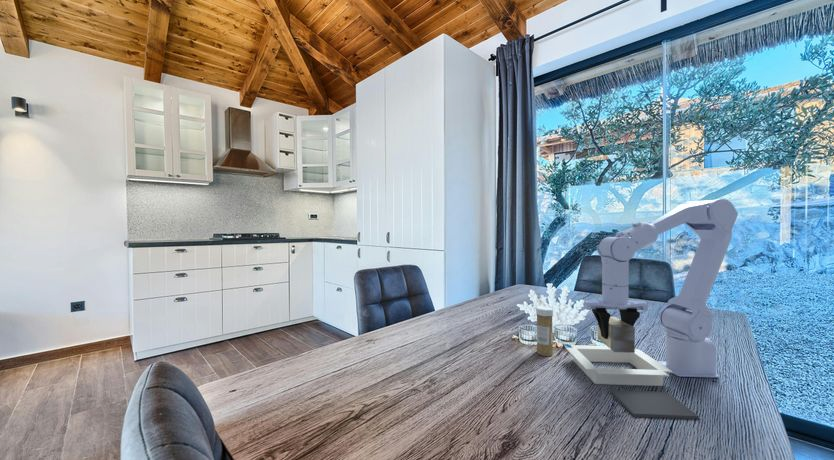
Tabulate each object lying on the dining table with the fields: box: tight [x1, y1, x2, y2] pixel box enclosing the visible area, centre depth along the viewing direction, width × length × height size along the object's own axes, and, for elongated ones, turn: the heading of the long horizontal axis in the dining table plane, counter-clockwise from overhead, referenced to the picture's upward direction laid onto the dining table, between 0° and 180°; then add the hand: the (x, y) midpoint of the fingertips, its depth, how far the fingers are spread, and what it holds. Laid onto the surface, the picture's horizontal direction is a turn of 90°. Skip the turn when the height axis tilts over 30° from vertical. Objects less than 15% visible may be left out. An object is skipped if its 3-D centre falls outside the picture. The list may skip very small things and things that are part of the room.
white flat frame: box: [565, 344, 673, 387], centre depth 83 cm, size 19×17×4 cm
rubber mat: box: [610, 389, 700, 420], centre depth 68 cm, size 12×9×1 cm
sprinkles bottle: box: [535, 305, 554, 357], centre depth 95 cm, size 5×5×13 cm
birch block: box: [597, 316, 636, 353], centre depth 83 cm, size 5×9×6 cm, turn 175°
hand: (614, 337), depth 83 cm, fingers closed on birch block, 4 cm apart
